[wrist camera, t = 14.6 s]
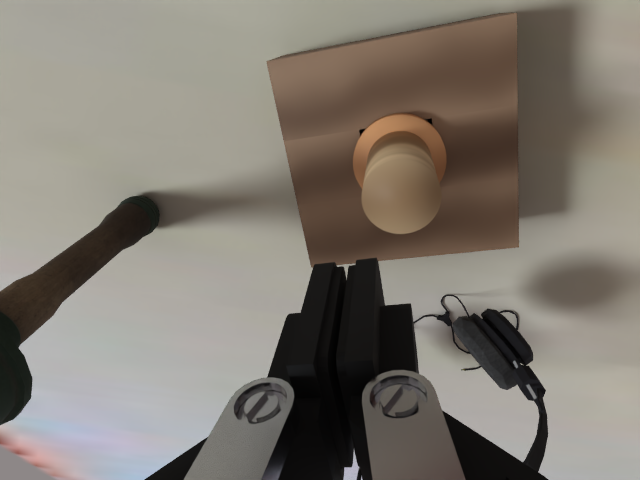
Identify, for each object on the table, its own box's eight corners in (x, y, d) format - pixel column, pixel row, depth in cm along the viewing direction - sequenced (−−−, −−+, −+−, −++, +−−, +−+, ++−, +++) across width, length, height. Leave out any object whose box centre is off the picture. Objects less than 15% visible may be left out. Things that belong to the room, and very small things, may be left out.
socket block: (281, 55, 36) (266, 61, 31) (499, 13, 33) (517, 12, 28) (319, 240, 42) (311, 267, 38) (504, 220, 39) (518, 247, 35)
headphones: (407, 399, 49) (417, 618, 31) (344, 325, 46) (314, 521, 28) (543, 337, 43) (649, 561, 26) (481, 249, 40) (552, 433, 23)
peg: (352, 108, 36) (335, 150, 25) (435, 95, 35) (456, 132, 24) (364, 185, 39) (353, 254, 28) (441, 175, 38) (463, 243, 26)
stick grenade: (115, 149, 41) (-398, 399, 14) (202, 198, 42) (-129, 519, 15) (89, 223, 45) (-356, 529, 18) (169, 266, 46) (-142, 619, 19)
